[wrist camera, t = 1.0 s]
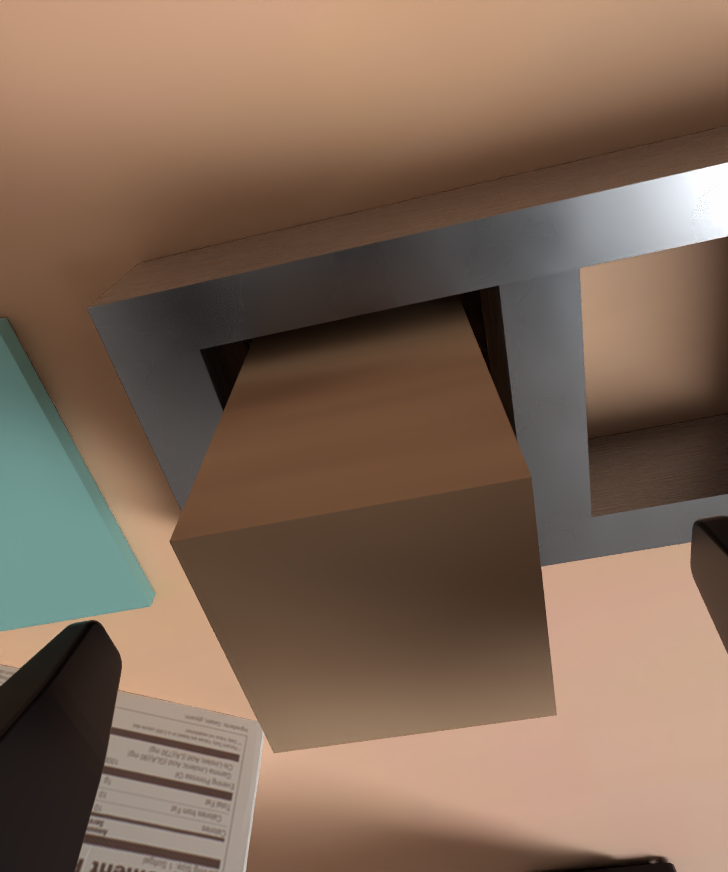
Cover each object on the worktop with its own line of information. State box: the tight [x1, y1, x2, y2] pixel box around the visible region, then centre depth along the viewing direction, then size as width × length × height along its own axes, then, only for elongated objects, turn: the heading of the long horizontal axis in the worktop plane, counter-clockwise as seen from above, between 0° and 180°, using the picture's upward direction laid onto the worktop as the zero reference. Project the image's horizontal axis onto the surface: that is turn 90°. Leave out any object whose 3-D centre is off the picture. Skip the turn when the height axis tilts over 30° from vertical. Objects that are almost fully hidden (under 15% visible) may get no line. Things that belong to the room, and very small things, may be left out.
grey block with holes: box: [87, 126, 728, 566], centre depth 14 cm, size 8×16×3 cm, turn 103°
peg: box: [170, 294, 557, 753], centre depth 12 cm, size 4×4×8 cm
